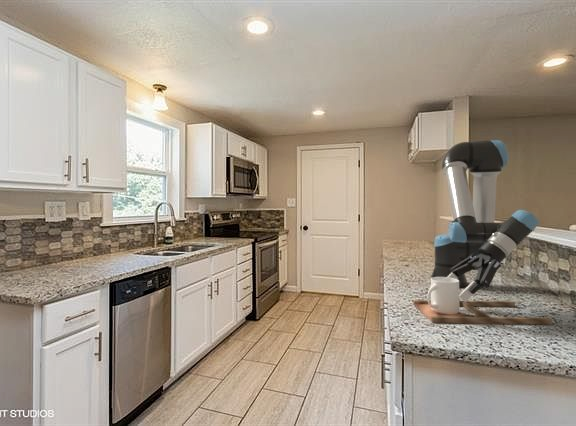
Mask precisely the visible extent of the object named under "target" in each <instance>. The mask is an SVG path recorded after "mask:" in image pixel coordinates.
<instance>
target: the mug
mask: <svg viewBox="0 0 576 426" xmlns="http://www.w3.org/2000/svg"><path fill="white" fill-rule="evenodd" d="M459 294H460V287H459V280H457V279H454V278H449V277H433V278H431V277H430V288H429V289H428V292H427V300H428V304H429V306H430V307H431V308H432V310H433V311H434V312H437V313H440V314H446V315H454V314H457V313H458V312H460V306H459V301H460V297H459V296H458V295H459ZM429 300H431V303H430V301H429Z"/></svg>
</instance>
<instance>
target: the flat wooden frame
mask: <svg viewBox="0 0 576 426" xmlns="http://www.w3.org/2000/svg"><path fill="white" fill-rule="evenodd" d="M412 301H413V302H412V303H413V304H412V305H413V306H414V307H415V308H417V310H418V311H420V312H421V314H423V316H425V317H426V318H427V320H429V321H430V322H431V324H432V323H433V324H438V323H439V324H440V323H441V324H486V325H487V324H494V325H498V324H500V325H501V324H502V325H552V324H553V319H552V318H551V317H525V316H524V317H522V316H521V317H515V316H513V317H511V316H510V317H509V316H506V317H505V316H490V315H489V314H487V313H485V312H484V311H482V310H480V309H478V308H477V307H497V308H498V307H505V308H507V307H510V308H514V307H516V301H513V300H510V301H509V300H508V301H506V300H498V301H497V300H467V301H466V302H464V301H463V300H459V307H463V308H465V309H466V310H467V311H468V312H471V313H472V314H474V315H475V316H466V315H464V314H463V313H461V312H460V311H459V312H458V313H457V314H454V315H446V314H440V313H437V312H434V311H433V310H432V308H431V307H430V306H429V304H428V299H425V300H424V299H423V300H422V299H420V300H419V299H415V300H412ZM429 301H430V303H431V299H429Z"/></svg>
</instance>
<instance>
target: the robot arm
mask: <svg viewBox="0 0 576 426" xmlns="http://www.w3.org/2000/svg"><path fill="white" fill-rule="evenodd" d="M508 161H509V153H508V149H507V146H506V144H505V143H504V142H503V141H502V140H498V139H497V140H495V139H493V140H491V139H488V140H476V141H462V142H459V143H456V144H455V145H454V146H452V147H450V149H448V150H447V152H446V153H445V155H444V157H443V159H442V164H441V168H442V173H443V175H445V176H446V177H445V178H446V184H447V188H448V189H447V191H448V194H449V202H450V207H451V213H452V219H453V222H450V224H449V226H448V233H443V234H439V235H437V236H436V237H435V238H434V244H433V248H434V267H433V269H432V273H431V276H430V279H431V278H433V277H449V278H454V279H457V280H459V288H464V289H463V291H461V292H459V295H458V296H459V299H461V301H464V302H466V301H469V300H470V299H471V298H472V297H473V296H474V295H475V294H476V293H477V292H479V290H480V289H483V288H484V287H485V288H486V289H488V288H489V287H490V286H491V284H492V282H493V279H494V277H495V276H496V273H497V271H498V270H499V268H501V266H502V264H501V263H502V262H503V261H504V260H505V259H506V258H507V256H509V255H510V254H511V253H512V252H513V251H514V250H515V249H516V248H517V247H518V246H519V245H520V244H521V243H522V242H523V241H524V240H525V239H526V238H527V237H528V236H529V235H530V234H531V233H532V232H534V231H535V229H536V228H537V227H538V225H539V222H540V221H539V220H538V218H537V217H536V216H535V215H534V214H533V213H531V212H529V211H527V210H524V209H518V210H516V211H515V212H513V214H511V216H510V217H508V218H507V219H506V220H504V221H502V222H501V221H500V222H495V219H496V218H495V214H496V198H497V196H496V195H497V180H498V179H497V177H498V175H499V174H501V173H502V169H504V168H505V167H506V166H507V165H508ZM468 170H469V174H470V175H472V176H473V185H472V186H473V187H472V188H473V189H472V194H471V189H470V185H469V181H468V176H467V171H468ZM476 270H477V273H476V276H475V279H473V281H471V282H470V283H469V285H468V279H467V277H466V273H469V272H471V271H476Z"/></svg>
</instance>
